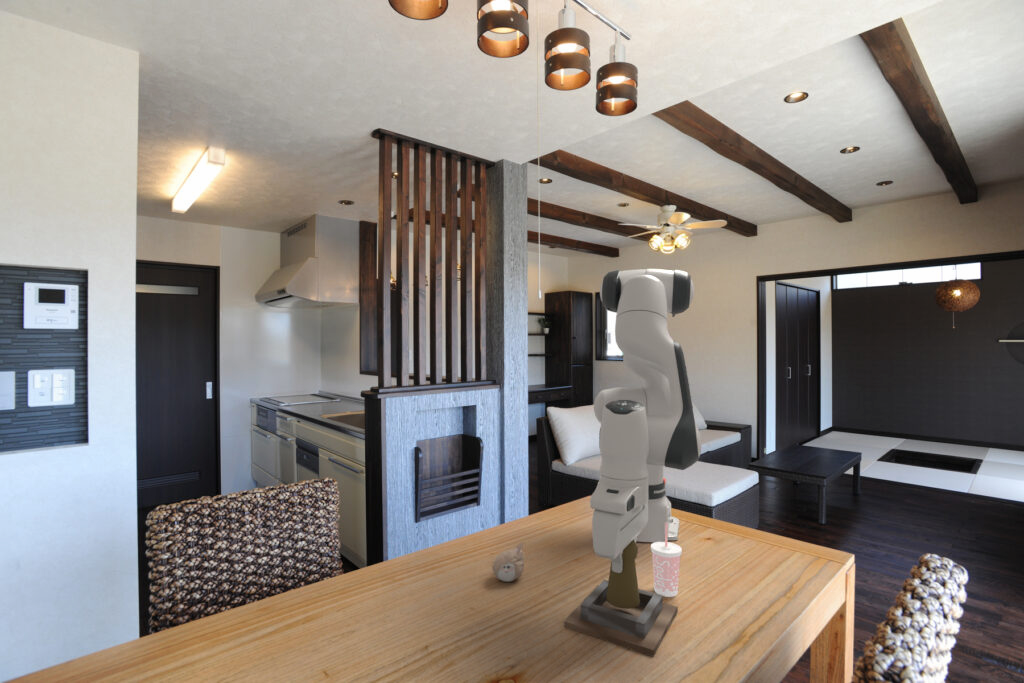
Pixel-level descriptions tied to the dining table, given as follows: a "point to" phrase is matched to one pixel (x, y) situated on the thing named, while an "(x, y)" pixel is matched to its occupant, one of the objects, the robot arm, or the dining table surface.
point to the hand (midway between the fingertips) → (623, 565)
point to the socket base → (624, 620)
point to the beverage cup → (666, 566)
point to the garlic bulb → (509, 564)
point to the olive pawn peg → (624, 581)
